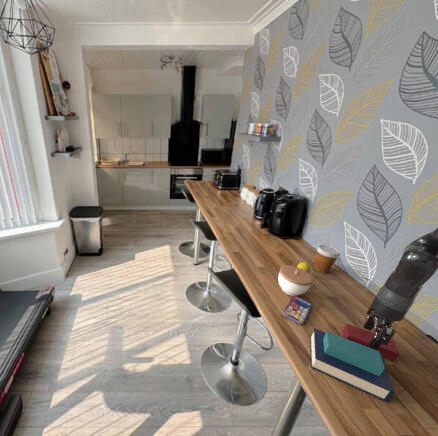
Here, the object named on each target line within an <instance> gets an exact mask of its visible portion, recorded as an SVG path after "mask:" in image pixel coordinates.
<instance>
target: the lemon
mask: <svg viewBox="0 0 438 436" xmlns="http://www.w3.org/2000/svg"><path fill="white" fill-rule="evenodd" d="M296 267H298V268H301V269H303V270H305V271H307V272H308V273H309V274H310V273H311V266H310V264H309V263H307V262H304V261H303V262H300V263H298V264H297V266H296Z"/></svg>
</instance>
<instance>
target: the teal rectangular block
mask: <svg viewBox="0 0 438 436" xmlns="http://www.w3.org/2000/svg"><path fill="white" fill-rule="evenodd" d="M325 333H326V334H325V336H324V339H323V342H324V352H325V354H328V355H330V356H333V357H335V358H337V359H340V360H342V361H344V362H347V363H349V364H352V365H354V366H356V367H359V368H361V369H363V370H366V371H368V372H371V373H373V374H375V375H378V376H380V375H381V373H382V372H383V370H384V369H385V367H384V364H383V361H382V358H381V355H380V352H379V351H376V350H374V349H371V348H368V347H366V346H363V345H361V344H358V343H355V342H353V341H350V340H348V339H345V338H344V337H342V336H340V335H337V334H334V333H331V332H330V331H326V332H325Z"/></svg>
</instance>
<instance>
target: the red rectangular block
mask: <svg viewBox="0 0 438 436" xmlns="http://www.w3.org/2000/svg"><path fill="white" fill-rule="evenodd" d="M342 334H343V338H345V339H348V340H350V341H353V342H355V343H358V344H361V345H363V346H366V347H368V348H371V349H374V350H376V351H379V352H380V354H382V355H383V358H384V359H387V360H389V361H392V362H396V360H397V359H398V358H399V357H400V354H401V353H400V352H399V349H398V347H397V344H396V342H395V340H393V339H391V340H390V342H389V343H388V345H384V344H381V345H380V347H379V348H378V349H375V348H372V347H370V346H369V343H370V341H371V340H372V338H373V337H374V332H371V331H370V330H367V329H363V328H360V327H357V326H355V325H352V324H350V323H345V325H344V327H343V329H342Z"/></svg>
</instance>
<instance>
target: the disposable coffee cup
mask: <svg viewBox="0 0 438 436" xmlns="http://www.w3.org/2000/svg"><path fill="white" fill-rule="evenodd" d="M340 256H341V253H340V250H339V249H337V248H336V247H333V246H331V245H327V244H320V245H318V247H316V255H315V261H314V264H313V268H314V269H315V270H316V271H318V272H320V273H324V274H328V273H329V271H330V270H331V269H332V267H333V265H334V264H335V262H336V261H337V259H338V258H339V257H340Z"/></svg>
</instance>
